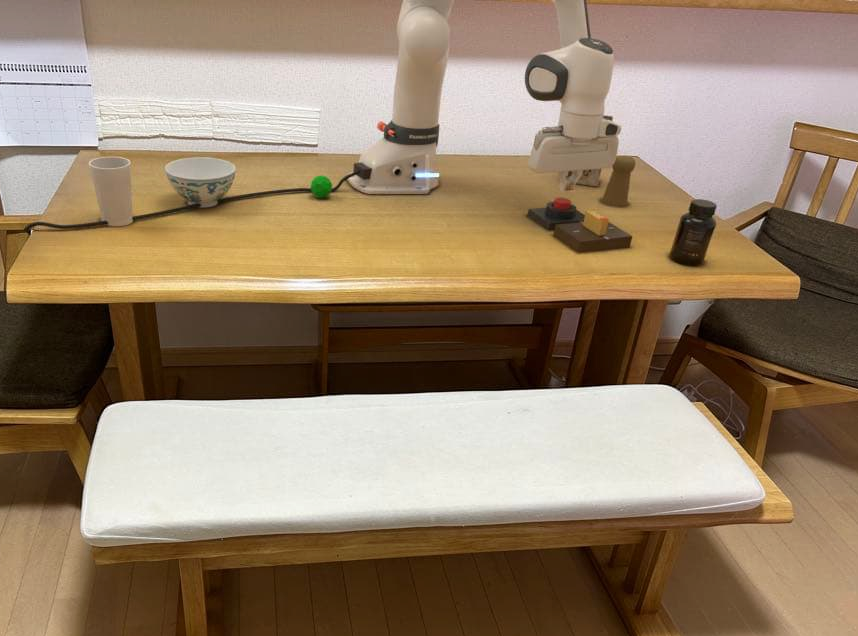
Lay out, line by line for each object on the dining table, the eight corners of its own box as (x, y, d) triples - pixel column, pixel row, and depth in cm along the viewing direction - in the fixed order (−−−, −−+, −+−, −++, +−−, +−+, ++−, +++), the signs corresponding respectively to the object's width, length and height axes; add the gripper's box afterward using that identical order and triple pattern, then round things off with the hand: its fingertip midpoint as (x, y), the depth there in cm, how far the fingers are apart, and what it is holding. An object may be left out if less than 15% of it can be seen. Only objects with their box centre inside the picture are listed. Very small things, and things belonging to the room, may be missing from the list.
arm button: (558, 211, 166) (560, 203, 165) (550, 205, 169) (551, 198, 168) (572, 210, 167) (574, 202, 166) (563, 204, 170) (565, 197, 169)
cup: (101, 229, 152) (93, 170, 145) (93, 216, 157) (85, 158, 150) (141, 224, 155) (134, 166, 148) (132, 211, 160) (125, 154, 154)
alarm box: (548, 230, 165) (551, 215, 163) (527, 216, 172) (529, 201, 170) (590, 226, 168) (593, 211, 166) (568, 212, 175) (571, 197, 173)
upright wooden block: (582, 225, 161) (586, 209, 160) (588, 224, 162) (592, 209, 160) (598, 235, 157) (602, 220, 155) (605, 235, 157) (609, 219, 155)
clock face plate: (578, 253, 155) (581, 241, 153) (552, 235, 163) (554, 223, 161) (630, 248, 159) (633, 236, 158) (602, 230, 167) (605, 218, 165)
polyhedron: (314, 201, 172) (314, 180, 169) (307, 194, 175) (307, 173, 173) (334, 199, 173) (335, 179, 171) (327, 192, 177) (328, 172, 174)
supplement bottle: (710, 262, 155) (729, 206, 148) (689, 268, 152) (707, 211, 145) (683, 250, 160) (700, 195, 153) (661, 256, 156) (678, 199, 149)
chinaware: (250, 204, 168) (249, 169, 164) (195, 219, 159) (192, 183, 154) (209, 186, 176) (207, 153, 172) (154, 200, 167) (151, 165, 162)
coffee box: (599, 180, 196) (614, 116, 187) (597, 187, 191) (612, 122, 182) (564, 174, 199) (577, 111, 189) (561, 181, 194) (574, 116, 184)
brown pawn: (627, 208, 180) (640, 161, 173) (602, 205, 181) (613, 158, 174) (625, 199, 185) (637, 154, 178) (600, 196, 185) (611, 151, 179)
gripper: (545, 131, 152) (533, 198, 160) (628, 126, 159) (612, 190, 167) (529, 123, 157) (518, 188, 165) (610, 119, 164) (596, 181, 171)
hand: (566, 189), depth 166 cm, fingers closed
